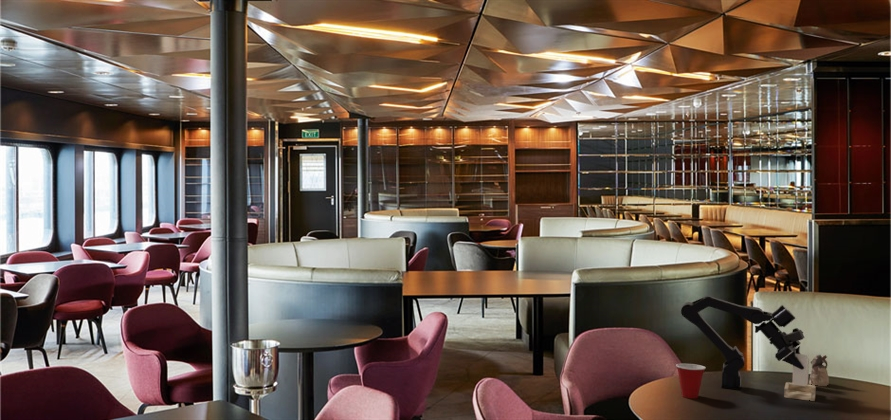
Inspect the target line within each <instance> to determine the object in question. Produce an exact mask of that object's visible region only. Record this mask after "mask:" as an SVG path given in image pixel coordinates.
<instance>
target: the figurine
mask: <svg viewBox="0 0 891 420" xmlns="http://www.w3.org/2000/svg"><path fill="white" fill-rule="evenodd" d="M827 358H828V356H827V355H826V354H825V355H823V356H822V355H821V354H819V353H818V354H816V355H815V356H814V357H812V361H810V364H811V371H810V376H809V378H808V384H809V385H811V384H812V385H814V386H815V385H818V386H817V387H827V385H828V386H829V382H830V380H829V379H830V378H829V373H828V370H827V368H828V361H827V360H826V359H827ZM823 363H824V364H825V365H824V364H823Z"/></svg>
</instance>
